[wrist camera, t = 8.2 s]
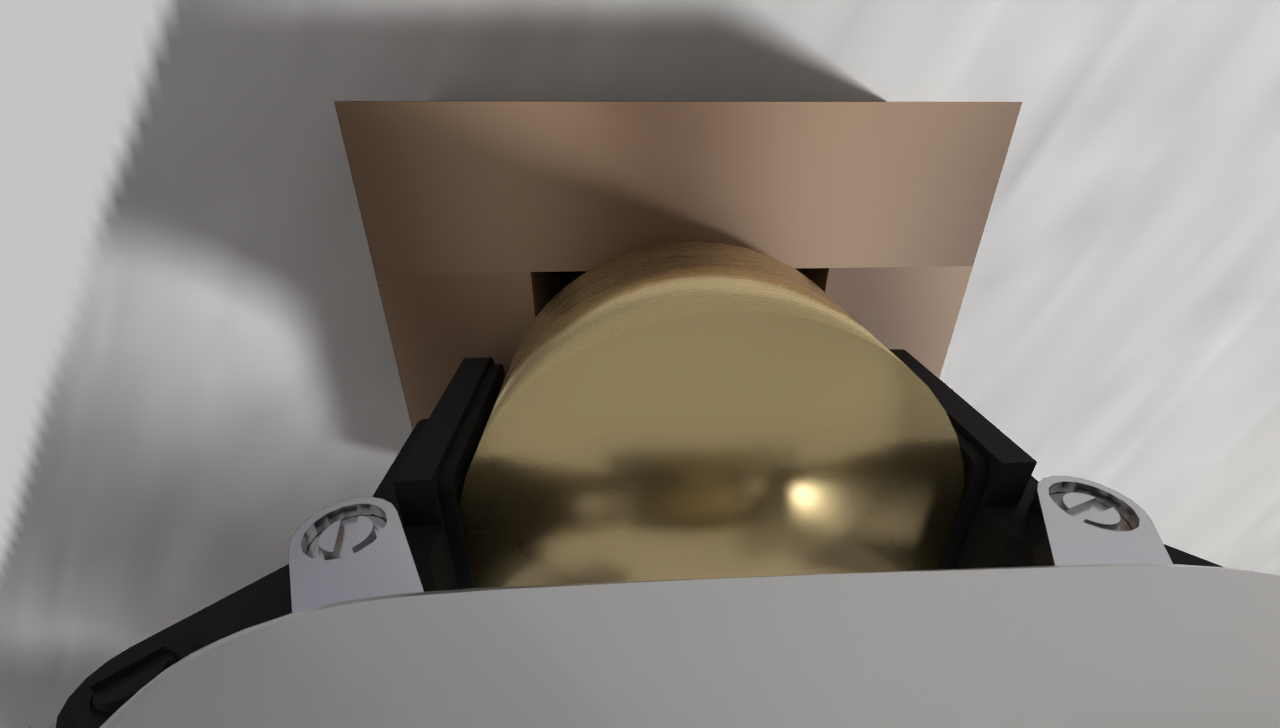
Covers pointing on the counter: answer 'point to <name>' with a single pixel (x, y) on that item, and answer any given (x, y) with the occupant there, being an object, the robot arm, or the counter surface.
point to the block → (664, 208)
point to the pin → (706, 434)
